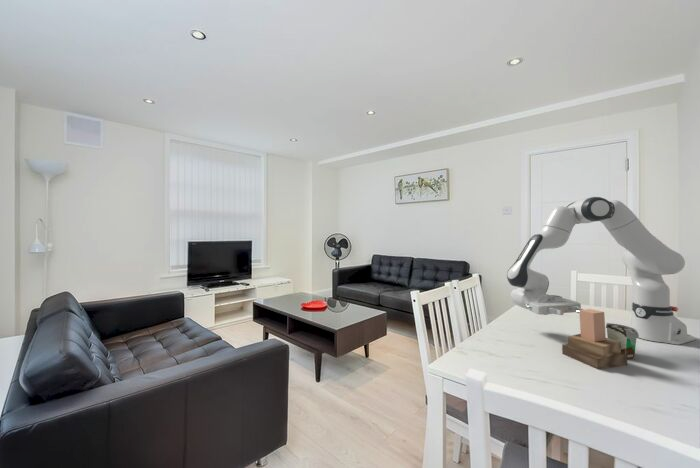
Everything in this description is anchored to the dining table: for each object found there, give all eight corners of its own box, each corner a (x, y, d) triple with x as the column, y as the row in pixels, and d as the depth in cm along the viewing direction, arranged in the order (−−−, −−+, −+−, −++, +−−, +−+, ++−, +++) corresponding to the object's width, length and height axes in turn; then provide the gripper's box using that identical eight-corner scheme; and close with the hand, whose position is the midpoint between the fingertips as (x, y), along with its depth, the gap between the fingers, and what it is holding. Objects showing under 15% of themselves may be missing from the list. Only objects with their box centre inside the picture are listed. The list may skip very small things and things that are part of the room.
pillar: (591, 335, 110) (590, 308, 110) (605, 340, 105) (604, 312, 105) (580, 337, 109) (579, 310, 109) (594, 341, 104) (593, 313, 104)
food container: (648, 362, 104) (648, 334, 104) (628, 360, 105) (628, 333, 105) (623, 348, 116) (623, 323, 116) (605, 347, 118) (605, 322, 117)
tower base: (589, 351, 115) (589, 341, 115) (627, 366, 102) (627, 355, 102) (562, 355, 112) (562, 344, 112) (597, 370, 100) (597, 359, 100)
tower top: (585, 342, 114) (585, 332, 114) (620, 352, 104) (620, 341, 104) (568, 347, 110) (568, 336, 110) (603, 358, 100) (603, 347, 100)
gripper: (522, 297, 126) (549, 305, 113) (562, 295, 130) (593, 302, 117) (522, 312, 127) (549, 322, 113) (562, 309, 130) (593, 318, 117)
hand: (572, 312), depth 115 cm, fingers open, 8 cm apart
